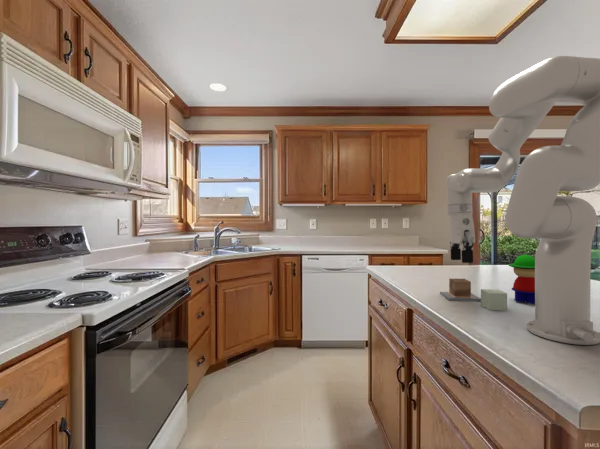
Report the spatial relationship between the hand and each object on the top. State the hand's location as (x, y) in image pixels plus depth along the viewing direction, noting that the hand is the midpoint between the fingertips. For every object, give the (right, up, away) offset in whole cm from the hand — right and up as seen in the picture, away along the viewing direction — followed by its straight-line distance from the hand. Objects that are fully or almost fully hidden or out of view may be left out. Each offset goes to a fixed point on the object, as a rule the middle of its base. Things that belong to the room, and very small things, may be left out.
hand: (461, 261), depth 100 cm
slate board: (0, -13, +1) cm, 13 cm away
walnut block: (0, -12, +1) cm, 12 cm away
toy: (+18, -13, -5) cm, 23 cm away
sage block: (+4, -13, -11) cm, 17 cm away
